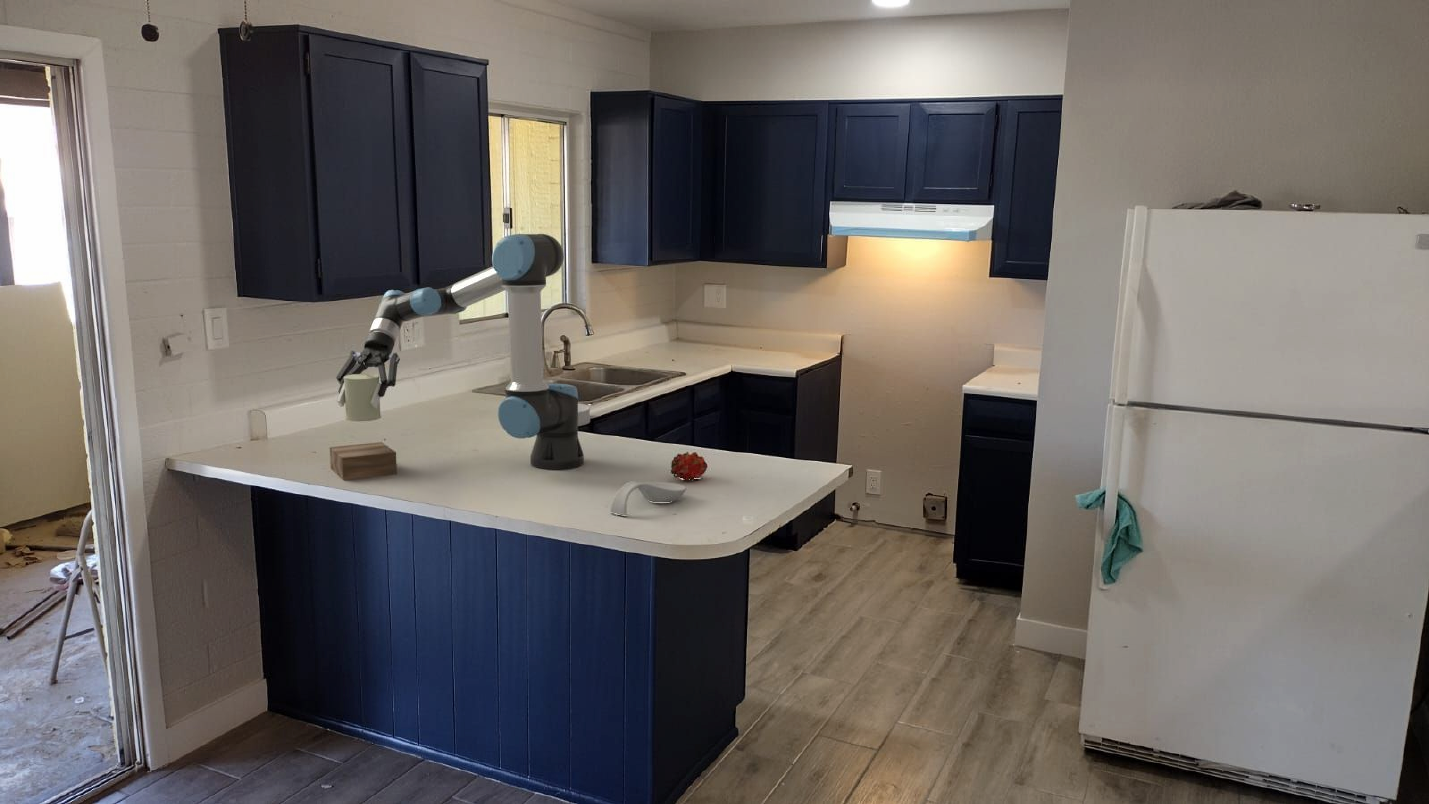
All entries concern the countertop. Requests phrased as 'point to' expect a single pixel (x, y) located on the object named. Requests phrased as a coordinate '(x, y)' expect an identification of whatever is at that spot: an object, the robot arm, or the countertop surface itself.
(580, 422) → the dish
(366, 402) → the can
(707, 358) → the countertop surface
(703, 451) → the countertop surface
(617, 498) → the spoon rest
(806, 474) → the countertop surface
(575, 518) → the countertop surface
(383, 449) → the walnut block
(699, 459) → the red bumpy oval piece
